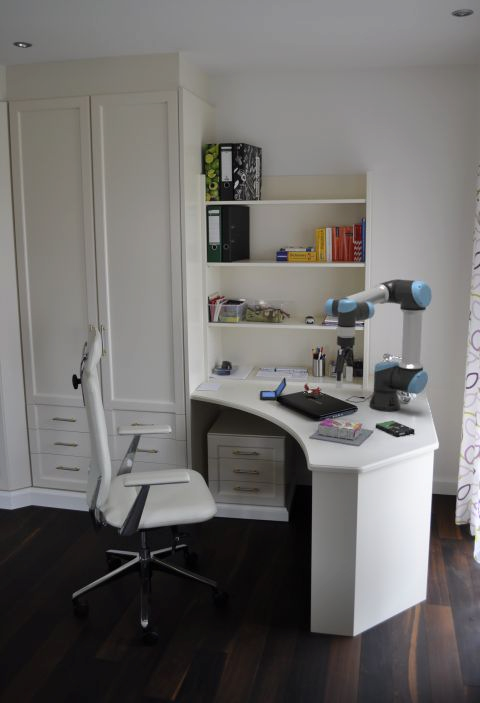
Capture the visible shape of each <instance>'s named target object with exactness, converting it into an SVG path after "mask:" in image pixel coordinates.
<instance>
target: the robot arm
mask: <svg viewBox="0 0 480 703" xmlns="http://www.w3.org/2000/svg"><path fill="white" fill-rule="evenodd" d="M432 297H433V295H432V289H431V287H430V285H429V284H428V283H427V282H425V281H422V280H421V281H420V280H415V279H414V280H413V279H412V280H410V279H401V278H400V279H398V278H397V279H392V280H388V281H384V282H380V283H378V284H376V285H374V286H373V287H372V288H369V289H366V290H363V291H360V292H358V293H355V294H351V295H348V296H345V297H342V298H339V299H338V298H337V299H336V298H329V299H328V300H327V301H326V302H325V304H324V305H325V306H324V312H325V314H326V315H328V316H332V317H335V318H336V317H337V327H336V330H337V331H336V332H337V333H336V335H337V337H336V345H337V346H339V347H340V349H337V356H336V361H335V366H334V371H333V372H334V373H335V388H336V389H343V387H344V386H343V383H344V382H343V381H344V380H343V378H344V373H343V370H344V366H345V364H346V367H345V369H346V370H345V382H351V383H352V382H353V372H354V371H353V367H355V366H356V364H355V354H354V346H355V343H356V342H355V341H356V340H355V339H356V338H355V336H356V321H357V322H358V321H366V320H369V319H371V318H373V317H374V315H375V306H374V305H376V304H379V305H383V304H387V303H389V304H398V305H400V307H399V310H400V311H401V312H402V314H403V315H402V316H403V318H402V320H403V321H402V340H401V342H402V343H401V344H402V345H401V361H400V362H398V361H382V362H378V363H376V364H375V365H374V371H373V373H374V374H373V376H374V377H373V392H372V395H371V396H370V397H371V398H370V400H369V404H368V407H369V408H370V409H372V410H375V411H379V412H395V411H399V410H400V409H401V402H400V399H399V394H398V391H400V392H404V393H408V394H413V395H418V394H420V393H423V391H424V389H425V388H426V386H427V384H428V380H429V377H428V376H429V375H428V373H427V372H426V371H425V370H424V365H423V364H422V363H421V350H422V349H421V348H422V347H421V346H422V325H423V324H422V323H423V313H424V312H425V311H426V308H427V307H428V306H429V305H430V304H431V301H432Z"/></svg>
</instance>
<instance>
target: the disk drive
mask: <svg viewBox="0 0 480 703" xmlns="http://www.w3.org/2000/svg"><path fill="white" fill-rule="evenodd" d="M375 429H377V430H379V431H381V432H383V433H386V434H388V435H390V436H393V437H395V438H401V437H400V436H402V437H407V436H411V435H410V434H413V435H415V429H414V428H413V427H412V428H411V427H410V426H407V425H405V424H402V423H400V422H397V421H395V420H388V421H384V422H379V423H376V424H375ZM406 435H407V436H406Z"/></svg>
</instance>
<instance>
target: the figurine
mask: <svg viewBox="0 0 480 703" xmlns="http://www.w3.org/2000/svg"><path fill="white" fill-rule="evenodd" d="M308 384H309V382H307V383H305V384H304V385H303V388H304V390H306V391H307V392H308V393H313V394H314V395H318V393H319V392H321V393H323V394H324V391H322V388H321V387H320V386H319V387H317V388H314V390H311V389H310V387H309V385H308ZM303 392H304V393H306V392H305V391H303ZM304 393H303V394H304ZM321 393H320V394H321Z"/></svg>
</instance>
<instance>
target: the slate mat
mask: <svg viewBox="0 0 480 703" xmlns="http://www.w3.org/2000/svg"><path fill="white" fill-rule="evenodd" d="M372 434H374V430H371V429H366V428H362V432H361V434H360V435H359V436H358V437H357V438H356V439H355V440H350V439H343V438H337V437H331V436H324V435H318V430H316V431H315V432H314V433H312V434H311V435H310V436H308V438H309V439H312V440H319V441H324V442H329V443H334V444H336V443H337V444H342V445H348V446H355V447H360V446H361V445H362V444H363V443H364V442H365V441H366V440H367V439H368V438H369V437H370V436H371V435H372Z"/></svg>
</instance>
